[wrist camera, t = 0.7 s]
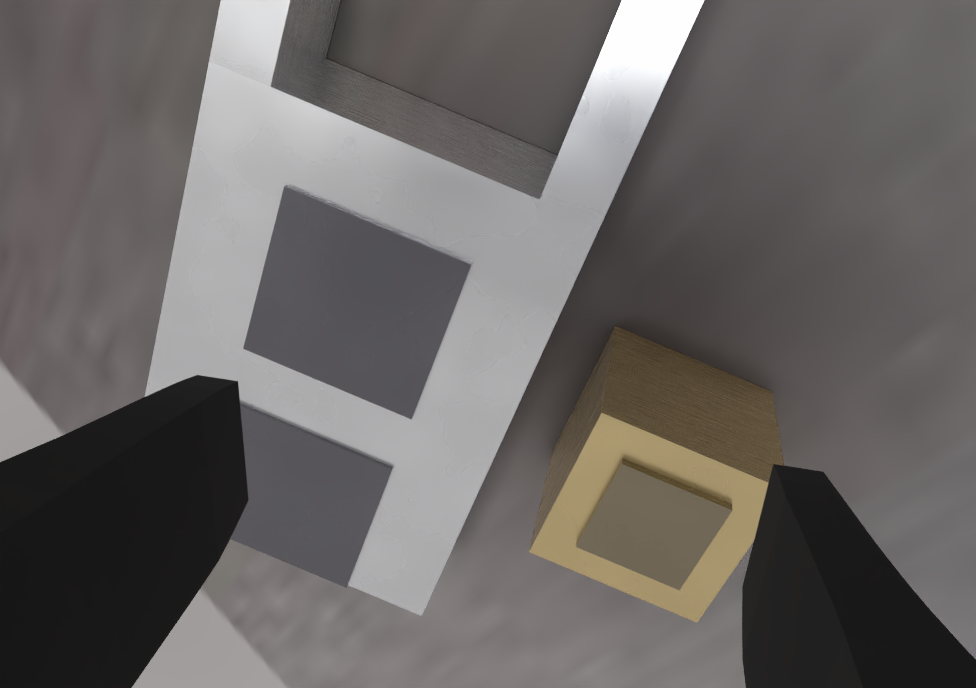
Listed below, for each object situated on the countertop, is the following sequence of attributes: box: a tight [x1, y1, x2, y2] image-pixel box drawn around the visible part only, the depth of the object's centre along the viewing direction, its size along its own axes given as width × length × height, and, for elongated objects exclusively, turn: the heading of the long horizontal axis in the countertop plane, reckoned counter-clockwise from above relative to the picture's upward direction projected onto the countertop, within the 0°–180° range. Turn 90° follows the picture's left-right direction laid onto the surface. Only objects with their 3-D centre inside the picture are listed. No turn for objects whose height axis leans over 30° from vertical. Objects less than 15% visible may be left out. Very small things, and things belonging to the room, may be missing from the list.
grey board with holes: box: [145, 0, 704, 616], centre depth 18 cm, size 8×22×3 cm, turn 160°
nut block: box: [529, 326, 784, 622], centre depth 20 cm, size 4×4×4 cm
